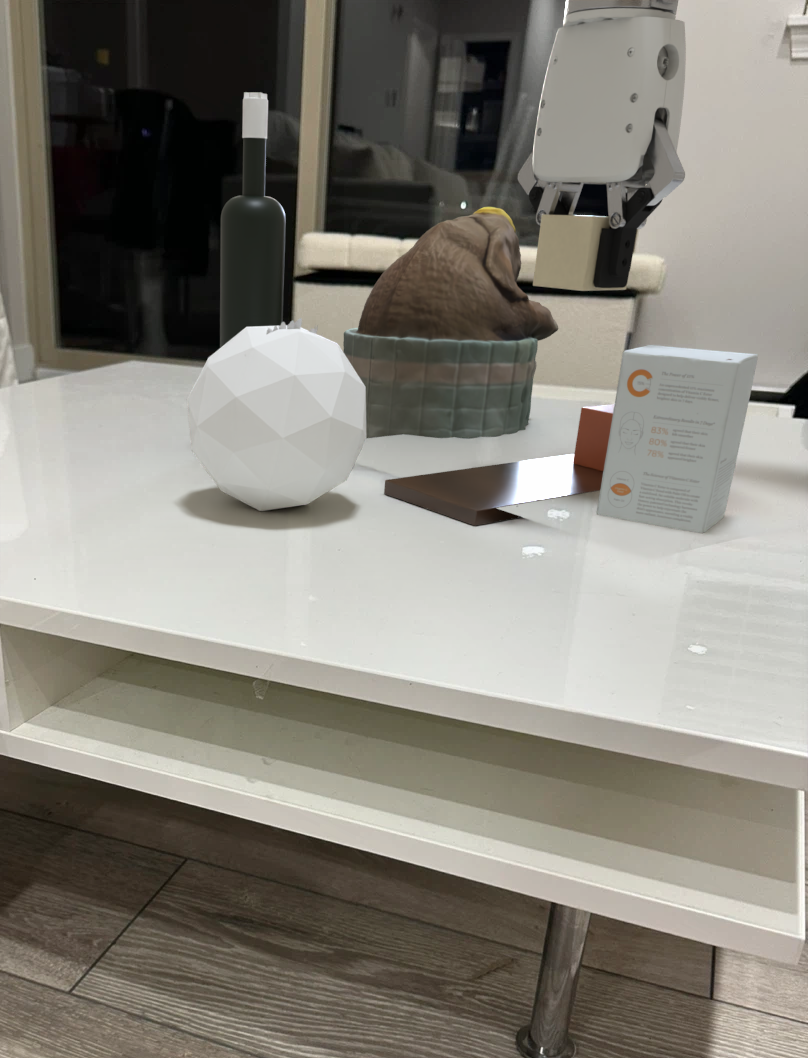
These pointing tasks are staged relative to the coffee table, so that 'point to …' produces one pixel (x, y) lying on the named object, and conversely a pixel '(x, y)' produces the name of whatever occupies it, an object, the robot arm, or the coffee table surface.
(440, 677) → the coffee table surface
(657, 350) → the small box
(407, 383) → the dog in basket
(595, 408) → the terracotta cube
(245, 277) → the wine bottle
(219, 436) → the geodesic sphere
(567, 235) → the beige block
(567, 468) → the dark brown board
